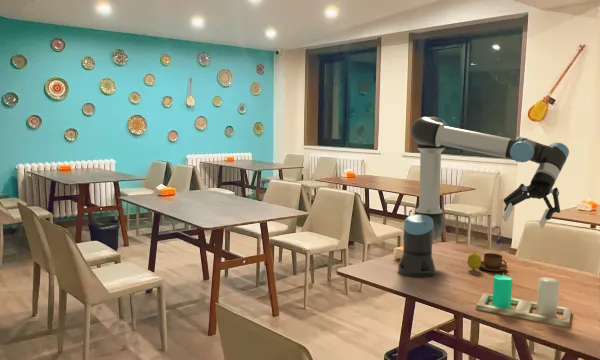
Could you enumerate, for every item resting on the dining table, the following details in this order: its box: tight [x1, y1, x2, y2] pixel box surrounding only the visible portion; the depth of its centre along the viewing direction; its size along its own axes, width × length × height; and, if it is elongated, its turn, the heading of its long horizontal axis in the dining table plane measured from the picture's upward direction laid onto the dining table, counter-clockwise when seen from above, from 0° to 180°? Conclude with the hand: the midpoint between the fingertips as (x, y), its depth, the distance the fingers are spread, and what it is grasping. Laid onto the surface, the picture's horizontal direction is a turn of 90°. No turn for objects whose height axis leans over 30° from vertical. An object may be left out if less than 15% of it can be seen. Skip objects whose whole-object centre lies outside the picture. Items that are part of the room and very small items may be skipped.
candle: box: [491, 272, 513, 309], centre depth 174 cm, size 6×6×12 cm
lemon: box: [467, 251, 482, 271], centre depth 215 cm, size 6×6×8 cm
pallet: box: [475, 292, 572, 328], centre depth 171 cm, size 28×14×2 cm, turn 60°
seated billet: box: [535, 277, 560, 318], centre depth 167 cm, size 6×6×12 cm
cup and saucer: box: [479, 252, 508, 272], centre depth 218 cm, size 12×12×6 cm
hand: (522, 222), depth 181 cm, fingers open, 13 cm apart
